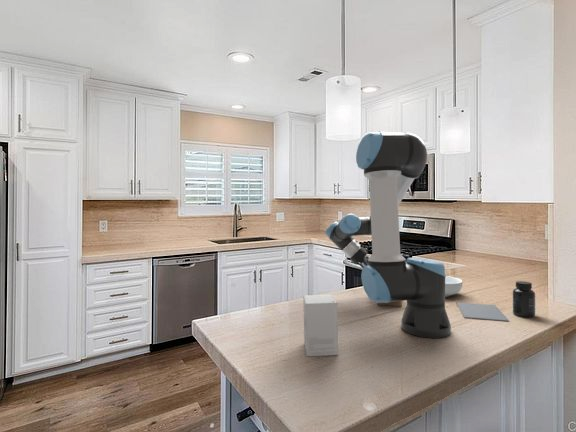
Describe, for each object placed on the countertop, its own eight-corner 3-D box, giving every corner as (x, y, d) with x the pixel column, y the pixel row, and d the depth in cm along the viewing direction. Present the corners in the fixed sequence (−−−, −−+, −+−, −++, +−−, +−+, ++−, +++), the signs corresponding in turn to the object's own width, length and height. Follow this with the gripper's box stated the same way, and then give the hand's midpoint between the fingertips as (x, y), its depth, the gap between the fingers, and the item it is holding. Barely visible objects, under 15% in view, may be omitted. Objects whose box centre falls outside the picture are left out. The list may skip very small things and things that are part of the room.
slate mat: (509, 321, 118) (509, 320, 118) (464, 317, 122) (464, 316, 122) (495, 306, 135) (495, 305, 135) (456, 303, 139) (456, 302, 139)
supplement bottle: (530, 312, 126) (531, 280, 126) (538, 318, 120) (539, 285, 119) (509, 311, 128) (509, 279, 128) (516, 317, 122) (516, 284, 121)
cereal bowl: (451, 302, 141) (451, 285, 141) (414, 294, 154) (414, 278, 153) (469, 294, 152) (469, 278, 151) (433, 287, 165) (433, 273, 164)
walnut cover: (401, 306, 136) (401, 281, 136) (377, 304, 139) (376, 279, 139) (401, 299, 145) (401, 275, 145) (378, 298, 148) (378, 274, 148)
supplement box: (333, 342, 103) (332, 293, 103) (338, 355, 94) (338, 302, 94) (303, 343, 103) (302, 294, 102) (306, 356, 94) (305, 303, 93)
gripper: (358, 250, 133) (398, 290, 129) (364, 242, 157) (398, 276, 153) (345, 263, 135) (384, 303, 131) (352, 253, 159) (386, 287, 155)
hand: (392, 289), depth 142 cm, fingers open, 13 cm apart
